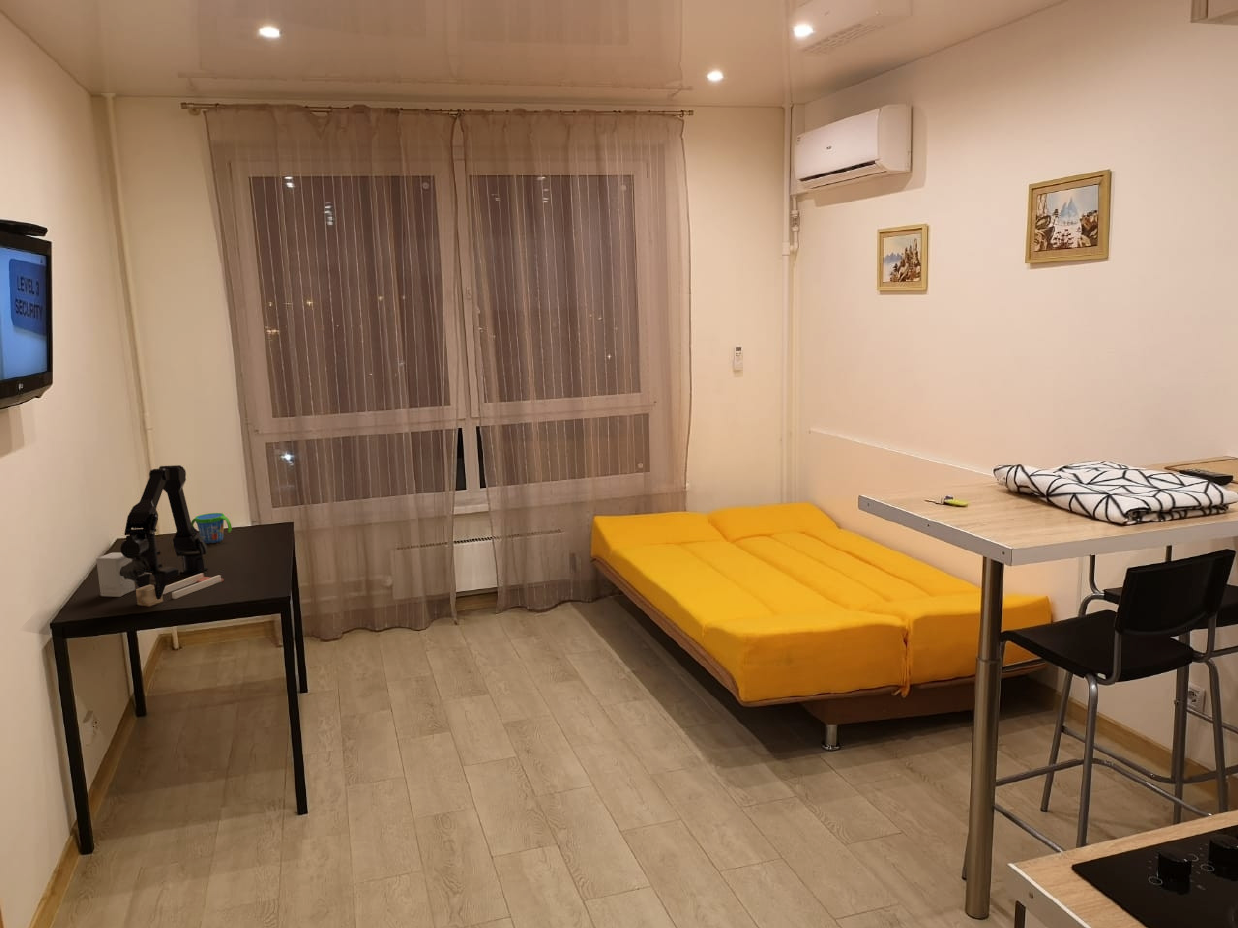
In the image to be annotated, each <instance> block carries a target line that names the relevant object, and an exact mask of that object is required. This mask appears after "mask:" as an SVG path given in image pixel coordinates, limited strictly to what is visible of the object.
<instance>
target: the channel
mask: <svg viewBox="0 0 1238 928" xmlns="http://www.w3.org/2000/svg"><path fill="white" fill-rule="evenodd" d="M223 581H225V580H224V578H222V576H221V575H220V574H219V575H215V576H213V577H212V576H211V577H210V576H209V577H208V576H205V575H204V573H202V572H199V573H197V574H194V575H193V576H190V577H187V578H185V579H181V580H179V581H175V582H173V583H171V584H166V586H165V589H164V591H163V594H162V596H163V595H166V594H168V593H171V596H172V597H171V598H172V599H173V600H176V599H179V598H181V597H184V596H186V595H189V594H193V592H197V591H200V590H202V589H205V588H208V587H210V586H213V585H215V584H218V583H221V582H223Z"/></svg>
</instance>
